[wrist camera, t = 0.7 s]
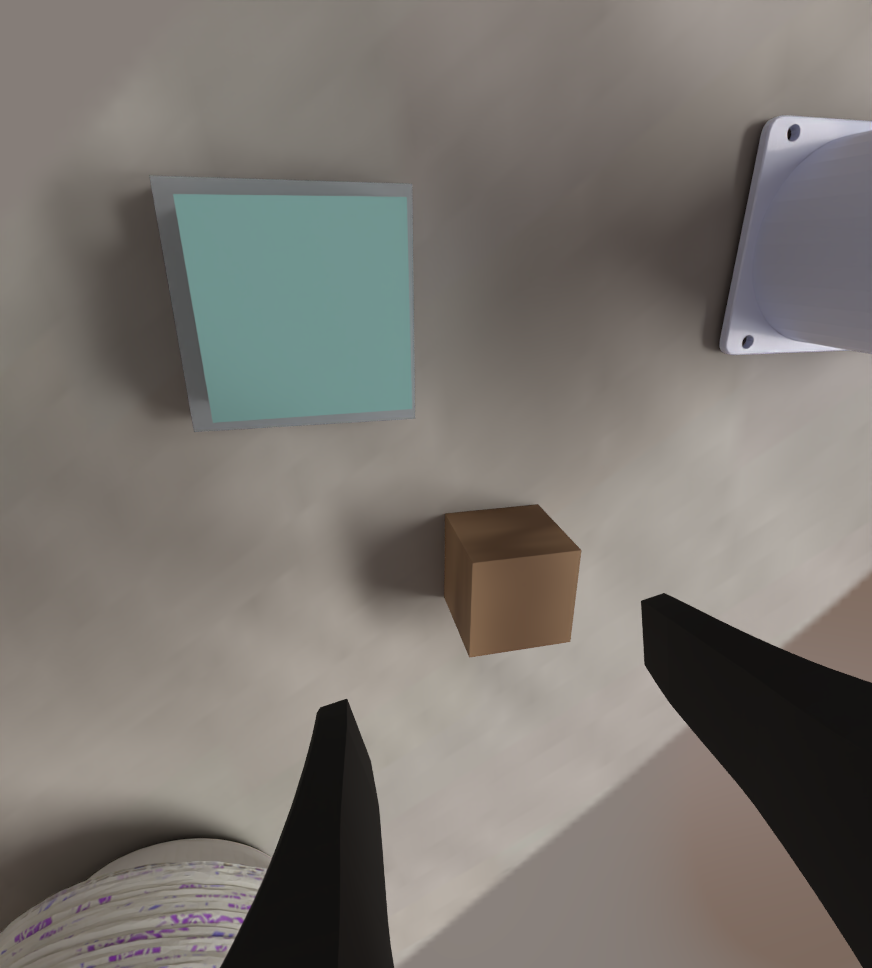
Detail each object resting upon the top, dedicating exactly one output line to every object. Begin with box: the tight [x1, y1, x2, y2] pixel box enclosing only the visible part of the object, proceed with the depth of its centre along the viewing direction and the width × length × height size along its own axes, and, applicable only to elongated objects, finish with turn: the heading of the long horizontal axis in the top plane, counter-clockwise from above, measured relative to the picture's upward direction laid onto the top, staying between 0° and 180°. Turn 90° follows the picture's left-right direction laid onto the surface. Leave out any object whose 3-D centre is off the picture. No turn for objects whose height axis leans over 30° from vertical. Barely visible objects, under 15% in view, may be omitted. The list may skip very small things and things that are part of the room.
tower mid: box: [173, 194, 412, 423], centre depth 15 cm, size 6×6×2 cm
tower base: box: [149, 175, 415, 432], centre depth 17 cm, size 7×7×2 cm
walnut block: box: [444, 504, 581, 657], centre depth 21 cm, size 4×4×4 cm
